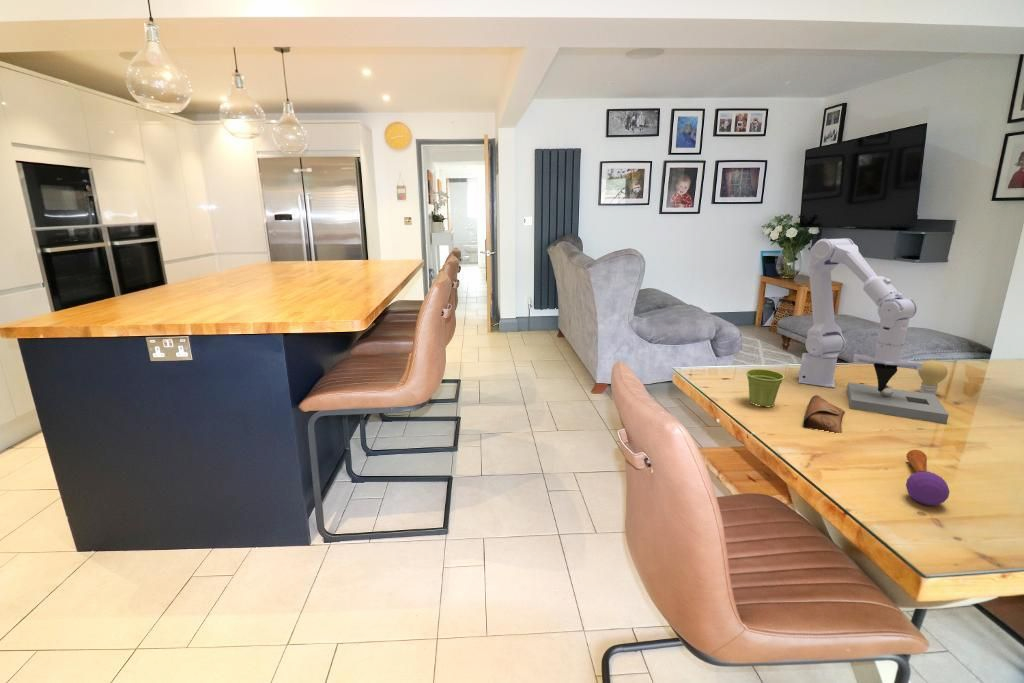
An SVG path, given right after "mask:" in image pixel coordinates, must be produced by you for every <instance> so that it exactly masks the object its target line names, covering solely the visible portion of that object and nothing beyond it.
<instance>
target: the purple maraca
mask: <svg viewBox="0 0 1024 683" xmlns="http://www.w3.org/2000/svg"><path fill="white" fill-rule="evenodd" d="M905 457H906V460H907V461H908V463H909V464H910V465H911V467H912V468H913V470H915V472H914V473H913V474H910V476H909V477H908V478H907V479H906V483H905V487H906V489H907V494H908V495H909V496H910V497H911V498H912V500H914V501H915V502H917V503H919V504H922V505H926V506H938V505H940V504H943V503H945V502H946V501H947V500H948V499H949V496H950V489H949V486H948V483H947V481H946V480H945V479H943V477H942V476H940V475H938V474H936V473H934V472H931V471H928V470H927V467H928V466H927V463H928V462H927V461H928V460H927V459H928V458H927V455H926V453H925V452H923V451H922V450H920V449H911V450H909V451H908V452H907V453H906V456H905Z"/></svg>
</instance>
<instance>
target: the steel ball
mask: <svg viewBox="0 0 1024 683" xmlns="http://www.w3.org/2000/svg"><path fill="white" fill-rule="evenodd" d="M894 389H895V388H894V387H892V385H889V384H886V386H885V388H884V390H883V391H882V392H880V391H879V392H880V394H881V395H883V396H886V397H888V396H891V395H892V394H893V393H894Z"/></svg>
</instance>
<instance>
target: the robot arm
mask: <svg viewBox="0 0 1024 683" xmlns="http://www.w3.org/2000/svg"><path fill="white" fill-rule="evenodd" d="M810 258H811V259H810V261H809V262H810V263H809V266H808V276H809V287H810V297H811V298H810V299H811V309H812V311H811V312H812V320H813V325H812V326H811V327H810V328H809V329H808V330H807V332H806V335H807V336H806V339H805V350H806V351H807V352H803V353H802V355H801V361H800V368H799V369H798V373H797V375H798V383H800V384H806V385H812V386H820V387H827V388H833V389H834V388H836V386H835V372H836V366H837V360H838V356H840V353H842V352H843V351H844V350H845V348H846V346H847V345H846V344H847V342H846V338H845V337H844V335H843V333H842V332H843V331H842V328H841V327H840V326H839V325H838V324H837V323H836V321H835V310H834V308H835V307H834V298H833V283H832V274H831V272H832V271H833V270H834V269H835V268H836V267H837V266H838V265H839V264H841V265H845V266H846V267H847V268H848V269H849V270H850V271H851V272H852V273H853V274H854V275H855V276H856V277H857V278H858V279H860V281H861V282H862V283H863V291H864V292H865V293H866V295H867V296H868V297H869V298H870V299H871V301H872V302H873V303H874V304H875V305H876V307H878V308H877V314H878V317H879V318H880V320H879V321H880V322H879V324H880V325H879V326H880V327H879V331H878V337H877V341H876V346H875V351H874V352H875V353H874V354H873V355H872V354H871V355H870V354H857V353H856V354H854V357H853V363H857V364H858V363H862V364H869V365H873V367H874V370H875V374H876V378H877V379H876V380H877V386H878V391H880V392H882V391H883V390H884V388H885V386H886V385H888V383H889V382H890V380H891V379H892V377H894V376H895V375H896V374H897V372H898V368H900V369H901V368H902V369H911V370H916V371H918V370H920V371H921V367H922V363H923V362H922V361H917V360H910V359H905V358H902V357H903V356H902V355H903V351H904V347H905V341H906V337H907V333H908V332H907V331H908V328H909V323H910V319H912V318H913V317H915V315H916V313H917V311H918V310H917V304H916V303H915V301H914V299H912V298H910V297H905V296H904V294H903V293H902V292H900V291H898V290H897V288H896V287H895V286H894V285H893V284H892V279H890V278H889V277H887V278H886V276H884V275H883V276H881V275H880V276H878V275H877V273H876V272H875V271H874V270H873V268H872V267H871V266H870V265H869V263H868V262H867V261H866V260H865V258H864V256H863V255H862V254H861V252H860V250H859V247H858V245H857V244H855V243H854V241H853V240H852V239H851V238H848V237H844V238H829V239H828V238H820V239H818V240H817V241H816V242H815V243H814V244H813V245H812V246H811V247H810Z"/></svg>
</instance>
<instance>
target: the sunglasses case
mask: <svg viewBox="0 0 1024 683" xmlns="http://www.w3.org/2000/svg"><path fill="white" fill-rule="evenodd" d="M845 411H846V410H844V409H842V408H841V407H838V406H836V405H834V404H832V403H831V402H828V401H827V400H826V399H824V398H823V397H822V396H820V395H817V394H816V395H813V396H812V397H811V398H810V400H809V402H808V404H807V409H806V411H805V414H804V415H805V416H804V418H803V419H804V420H803V426H804V427H808V428H807V429H809V428H812V429H811V430H814V429H818V430H817V431H819V430H824V431H823V432H825V431H829V432H828V433H830V432H834V433H833V434H836V433H842V432H843V430H842V422H843V417H844V414H845V413H846V412H845ZM842 434H843V433H842Z"/></svg>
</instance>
